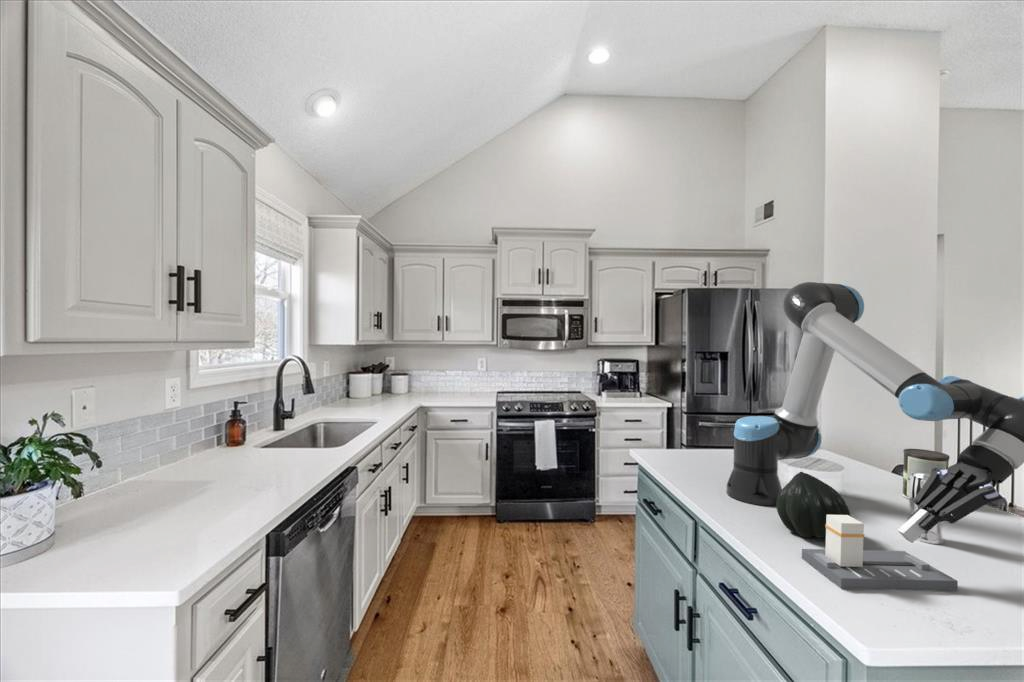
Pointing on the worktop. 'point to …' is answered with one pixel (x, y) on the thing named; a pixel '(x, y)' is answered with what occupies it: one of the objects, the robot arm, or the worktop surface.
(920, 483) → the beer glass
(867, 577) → the panel
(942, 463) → the coffee can
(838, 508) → the squash
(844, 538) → the fader knob
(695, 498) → the worktop surface
